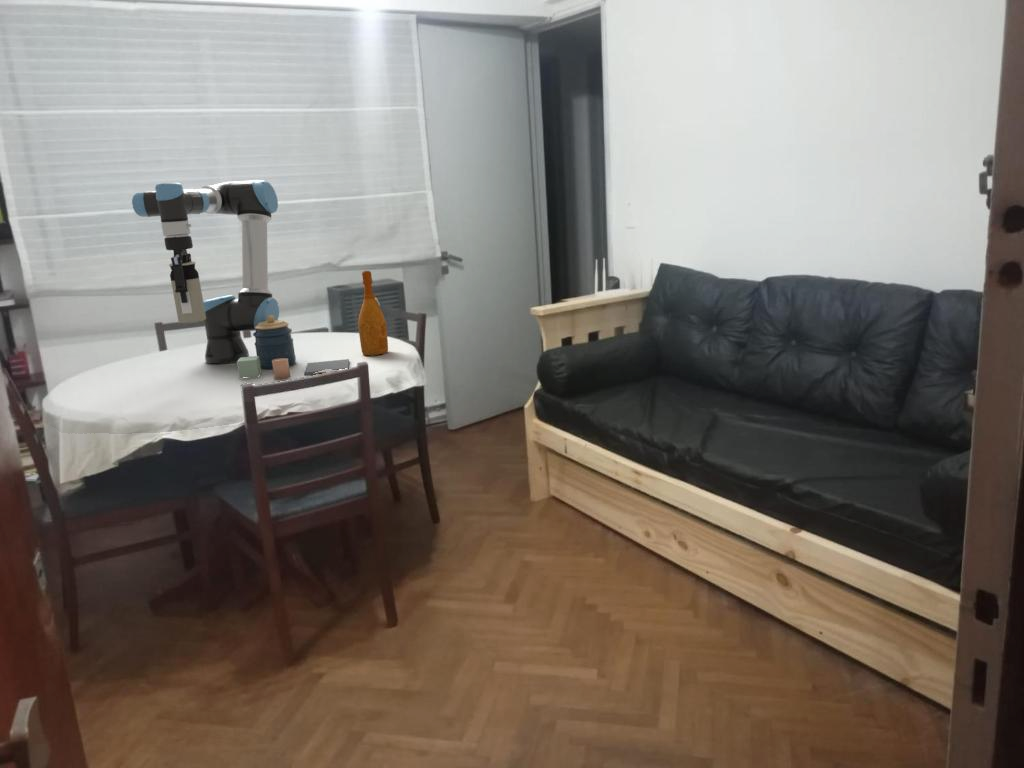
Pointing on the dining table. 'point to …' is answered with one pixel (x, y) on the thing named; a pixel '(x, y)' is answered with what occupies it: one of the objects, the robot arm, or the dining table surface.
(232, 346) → the robot arm
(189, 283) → the travel mug
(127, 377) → the dining table surface
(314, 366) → the mat
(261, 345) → the canister
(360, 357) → the dining table surface
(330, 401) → the dining table surface
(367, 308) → the wine bottle
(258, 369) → the sage block
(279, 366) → the salmon block
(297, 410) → the dining table surface
